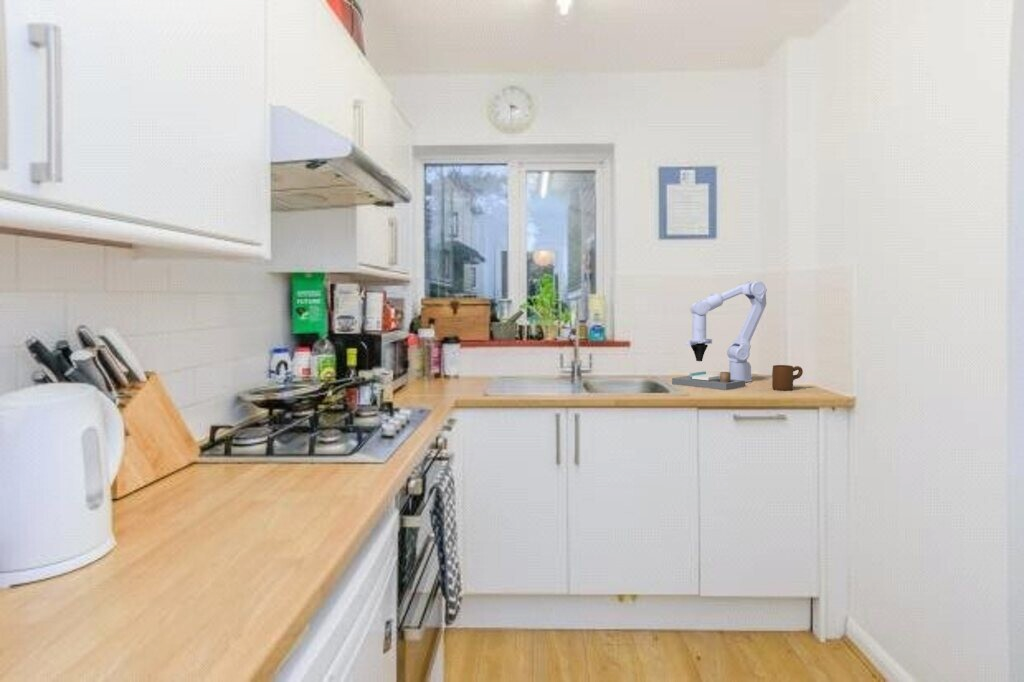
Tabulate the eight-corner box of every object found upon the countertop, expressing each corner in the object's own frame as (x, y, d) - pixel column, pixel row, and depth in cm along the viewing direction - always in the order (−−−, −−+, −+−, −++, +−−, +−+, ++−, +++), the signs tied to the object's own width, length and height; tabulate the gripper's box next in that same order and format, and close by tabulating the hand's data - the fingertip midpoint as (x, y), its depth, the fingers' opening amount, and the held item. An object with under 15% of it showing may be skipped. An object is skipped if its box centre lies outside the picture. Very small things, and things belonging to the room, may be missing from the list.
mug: (797, 387, 257) (797, 364, 256) (807, 390, 250) (807, 366, 249) (768, 388, 256) (768, 365, 255) (778, 391, 248) (778, 367, 248)
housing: (691, 380, 283) (691, 375, 282) (745, 386, 263) (745, 380, 262) (672, 383, 274) (672, 377, 274) (726, 390, 254) (726, 383, 254)
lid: (703, 376, 275) (703, 371, 275) (722, 378, 268) (722, 373, 268) (689, 378, 269) (689, 373, 269) (708, 380, 262) (708, 375, 262)
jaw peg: (723, 386, 265) (723, 371, 264) (732, 387, 262) (732, 372, 261) (718, 387, 262) (718, 372, 262) (727, 388, 259) (727, 373, 259)
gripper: (695, 330, 267) (695, 362, 268) (717, 329, 275) (717, 360, 276) (682, 330, 273) (682, 361, 274) (704, 328, 281) (704, 359, 282)
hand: (699, 361), depth 275 cm, fingers closed
